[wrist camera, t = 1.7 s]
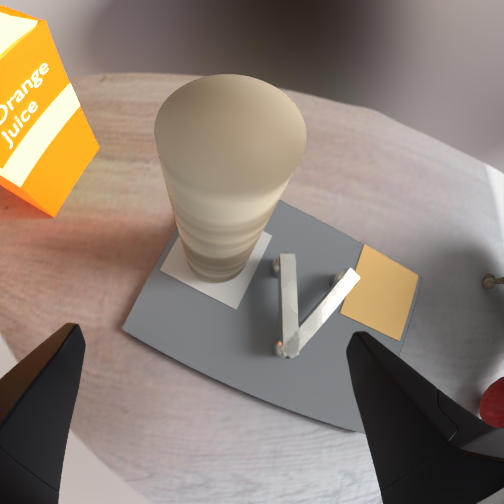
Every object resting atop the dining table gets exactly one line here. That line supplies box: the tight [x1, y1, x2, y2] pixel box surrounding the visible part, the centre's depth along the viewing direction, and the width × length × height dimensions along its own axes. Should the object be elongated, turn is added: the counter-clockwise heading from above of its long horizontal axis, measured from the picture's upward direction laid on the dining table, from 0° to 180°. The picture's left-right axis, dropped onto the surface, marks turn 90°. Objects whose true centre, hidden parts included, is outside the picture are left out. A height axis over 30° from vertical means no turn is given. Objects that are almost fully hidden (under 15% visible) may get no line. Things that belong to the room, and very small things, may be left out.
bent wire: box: [270, 252, 360, 359], centre depth 20 cm, size 7×6×2 cm
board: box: [122, 200, 422, 434], centre depth 22 cm, size 14×20×1 cm
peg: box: [154, 74, 307, 283], centre depth 15 cm, size 4×4×14 cm
